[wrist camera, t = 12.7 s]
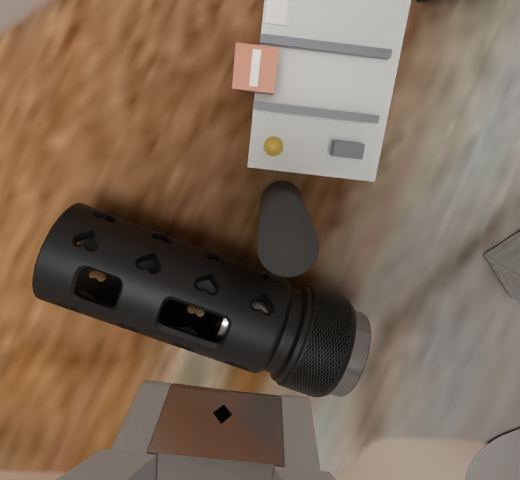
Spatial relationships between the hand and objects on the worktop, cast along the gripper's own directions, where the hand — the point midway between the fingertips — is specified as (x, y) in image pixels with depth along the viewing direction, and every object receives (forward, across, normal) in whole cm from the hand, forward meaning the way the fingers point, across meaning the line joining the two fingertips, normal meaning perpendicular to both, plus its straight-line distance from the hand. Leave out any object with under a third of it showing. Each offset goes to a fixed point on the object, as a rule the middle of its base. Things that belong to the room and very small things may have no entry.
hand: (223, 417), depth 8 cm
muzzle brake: (+34, -3, -12) cm, 36 cm away
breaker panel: (+33, +4, +7) cm, 34 cm away
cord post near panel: (+33, +2, -3) cm, 33 cm away
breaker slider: (+29, -1, +8) cm, 30 cm away
